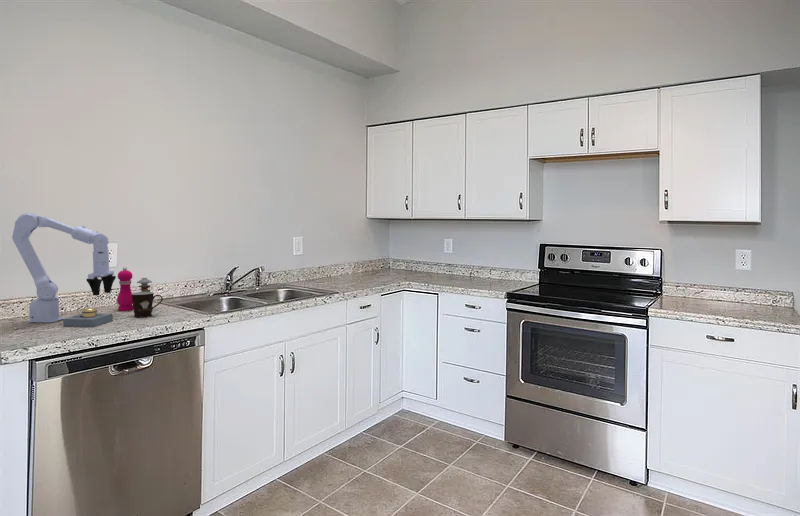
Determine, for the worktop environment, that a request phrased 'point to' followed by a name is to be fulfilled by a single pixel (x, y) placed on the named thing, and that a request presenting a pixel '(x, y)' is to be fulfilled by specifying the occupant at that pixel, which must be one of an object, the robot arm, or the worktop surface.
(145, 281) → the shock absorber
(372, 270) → the worktop surface
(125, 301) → the pepper mill
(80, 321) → the bore block
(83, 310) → the cylinder
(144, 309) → the coffee mug
